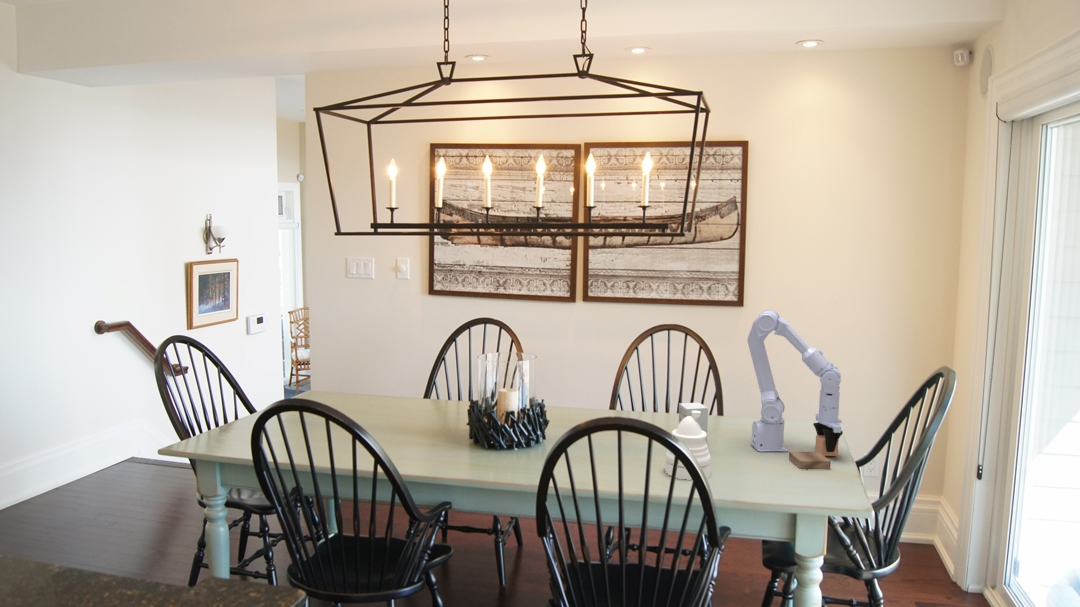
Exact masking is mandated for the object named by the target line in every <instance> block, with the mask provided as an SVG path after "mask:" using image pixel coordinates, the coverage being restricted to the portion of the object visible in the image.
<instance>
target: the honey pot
mask: <svg viewBox="0 0 1080 607" xmlns="http://www.w3.org/2000/svg"><path fill="white" fill-rule="evenodd" d="M700 414H701V412H700V411H692V416H687V417H685V418H684V419H683V420H682V421H681V422H680V424H679V423H678V425H677V427H676V428H675V429H673V430H672V431H671V435H672V436H673V435H674V436H675V437H677V438H678V439H679V440H680V441H681V442H682V443H683V444H685V445H686V446H687V447H688V448H689V450H690V451H691V452H692V453H693V455H694V456H695V458H696V459H697V461H698V463H699V464H700V466H701V467H702V469H703V470H704V472H705V474H706V475H709V474H710V475H711V467H712V466H711V465H712V463H711V462H712V456H711V454H710V450H709V447H708V446H709V445H708V442H707V443H706V441H705V438H706V437H707V438H708V432H707V433H706V432H704V431H703V430H701V428H700V426H699V424H698V422H697V421H696V420H695V419H696V418H698V417H699V416H700ZM673 463H674V456H673V454H672V453H671V452H670V451H668V450H667V451H666V453H665V464H664V465H665V466H664V467H665V469H664V470H665V471H666V472H665V474H666V473H668V474H670V473H672V468H673ZM677 478H678V479H677ZM675 479H677V480H682V479H687V480H686V481H692V480H691V478H690V476H689V474H688V472H687V471H686V469H685V468H684V466H683V465H682V463H681V462H680V461H679V464H678V469H677V475H676V478H675Z"/></svg>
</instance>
